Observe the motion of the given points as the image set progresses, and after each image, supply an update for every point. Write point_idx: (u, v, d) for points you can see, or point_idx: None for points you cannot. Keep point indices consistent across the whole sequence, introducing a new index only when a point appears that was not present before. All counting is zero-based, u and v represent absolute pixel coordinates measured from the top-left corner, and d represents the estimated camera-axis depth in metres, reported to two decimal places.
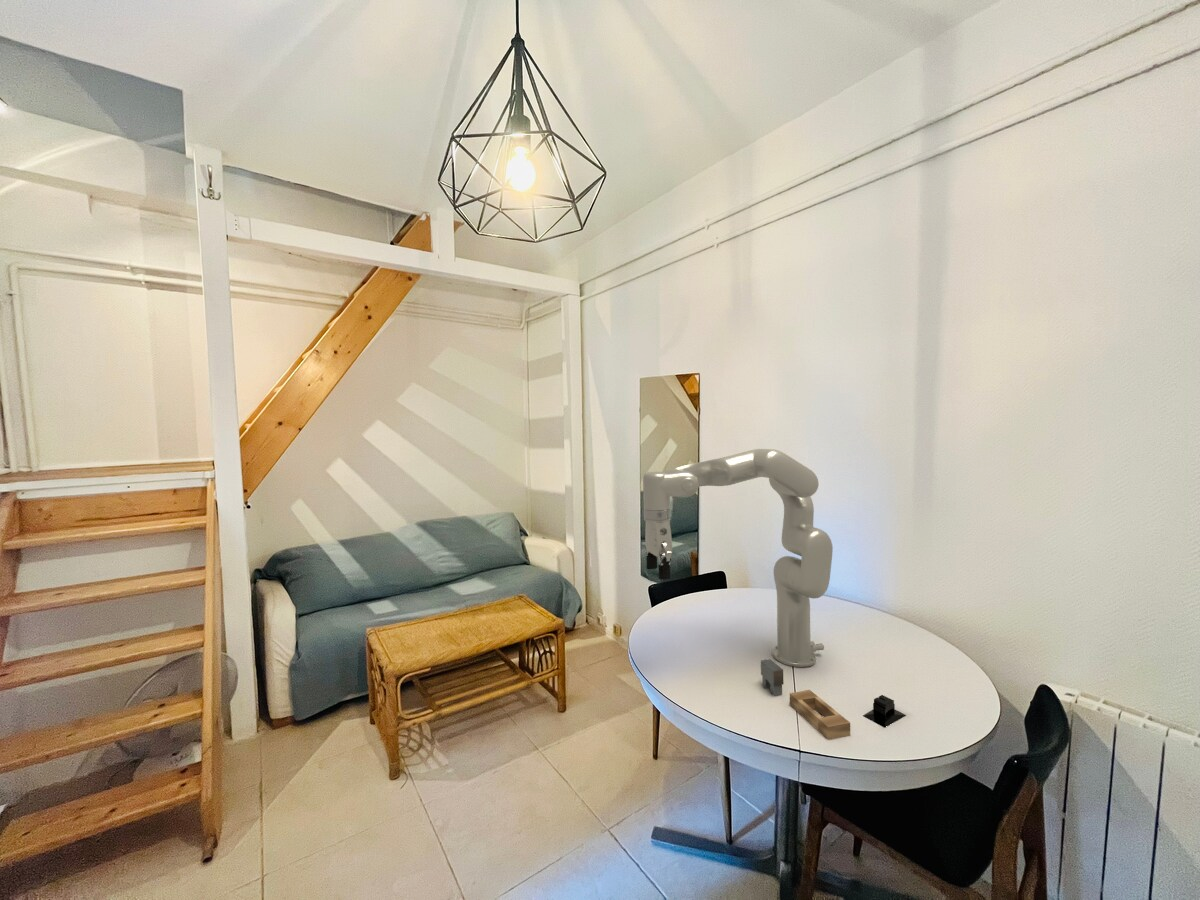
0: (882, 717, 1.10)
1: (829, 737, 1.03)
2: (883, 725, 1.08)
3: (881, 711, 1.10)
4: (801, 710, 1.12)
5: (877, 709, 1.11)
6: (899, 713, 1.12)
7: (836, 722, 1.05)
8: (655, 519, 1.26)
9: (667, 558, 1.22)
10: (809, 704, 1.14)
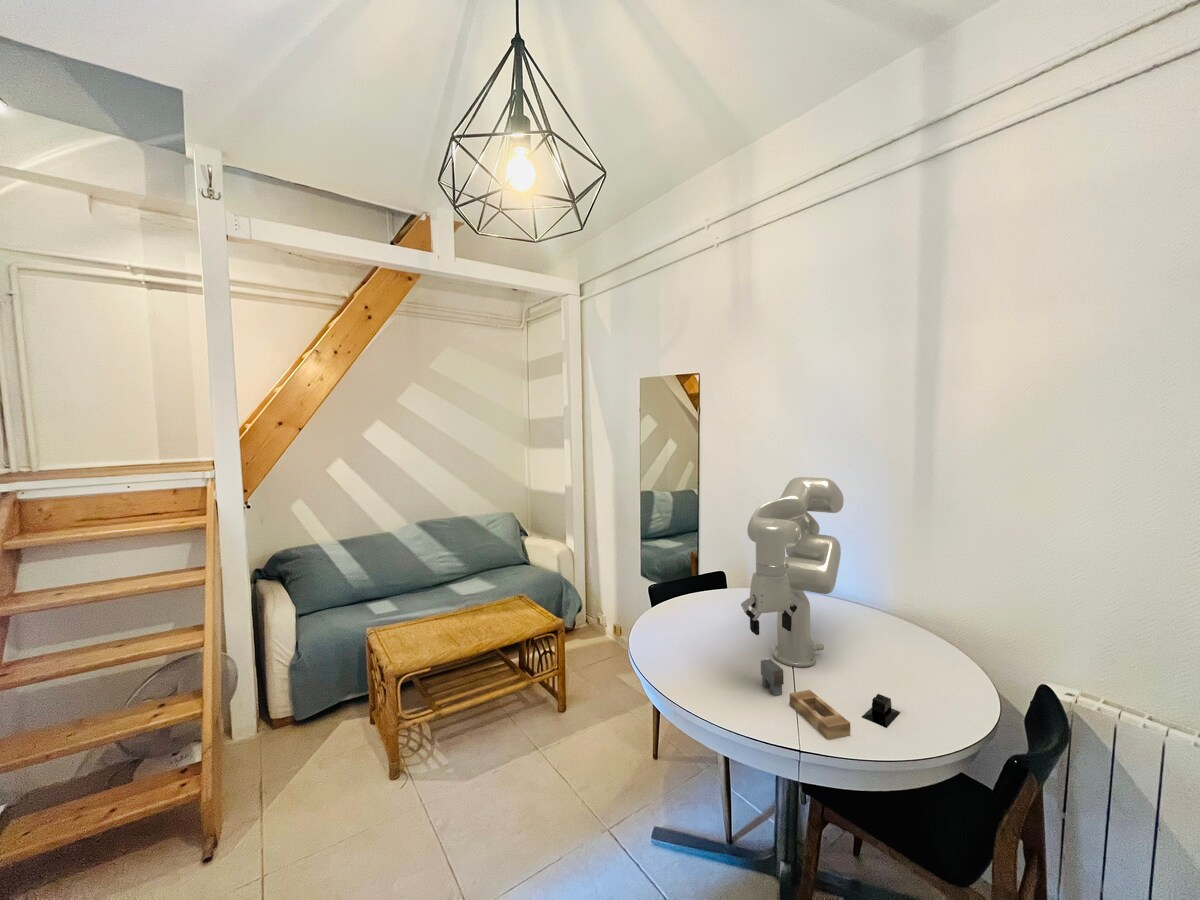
0: (881, 716, 1.10)
1: (829, 737, 1.03)
2: (884, 725, 1.08)
3: (880, 711, 1.10)
4: (801, 710, 1.12)
5: (876, 709, 1.11)
6: (895, 711, 1.13)
7: (836, 722, 1.05)
8: (785, 572, 1.21)
9: None
10: (809, 704, 1.14)
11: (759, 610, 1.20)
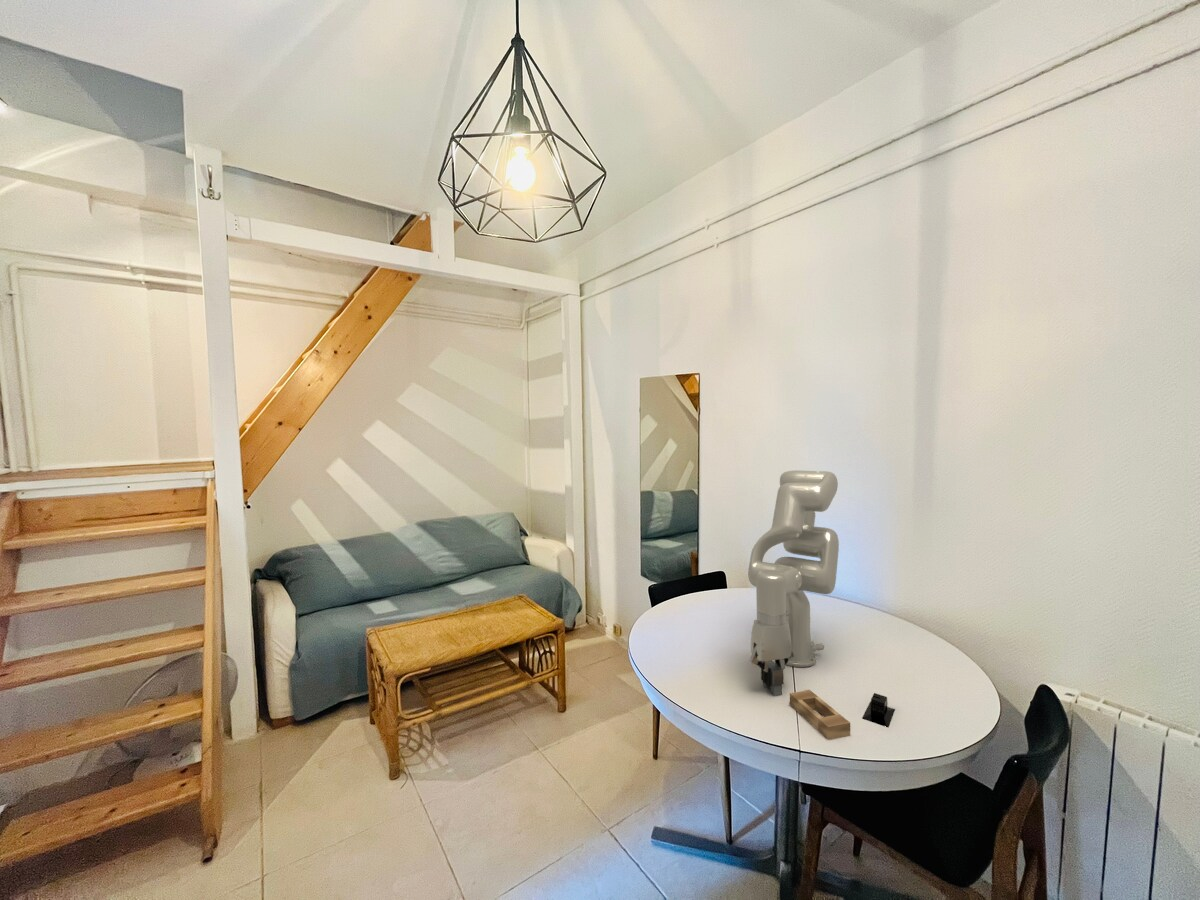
0: (881, 716, 1.10)
1: (829, 737, 1.03)
2: (885, 725, 1.08)
3: (880, 710, 1.10)
4: (801, 710, 1.12)
5: (875, 709, 1.11)
6: (889, 708, 1.14)
7: (836, 722, 1.05)
8: None
9: None
10: (809, 704, 1.14)
11: (760, 659, 1.21)
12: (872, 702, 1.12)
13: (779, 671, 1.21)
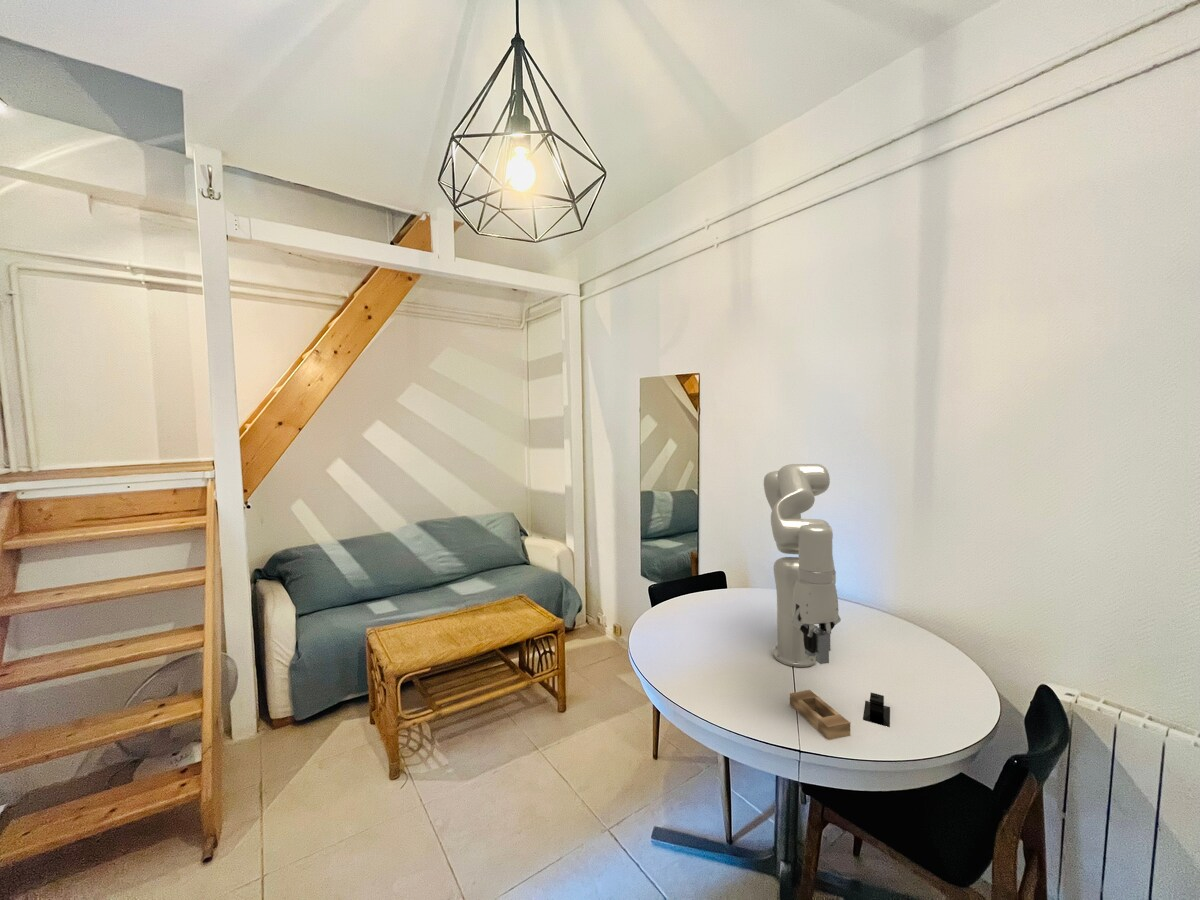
0: (880, 716, 1.10)
1: (829, 737, 1.03)
2: (886, 724, 1.08)
3: (879, 710, 1.10)
4: (801, 710, 1.12)
5: (874, 709, 1.11)
6: (885, 706, 1.15)
7: (836, 722, 1.05)
8: None
9: None
10: (809, 704, 1.14)
11: (804, 622, 1.07)
12: (871, 702, 1.11)
13: (825, 636, 1.07)
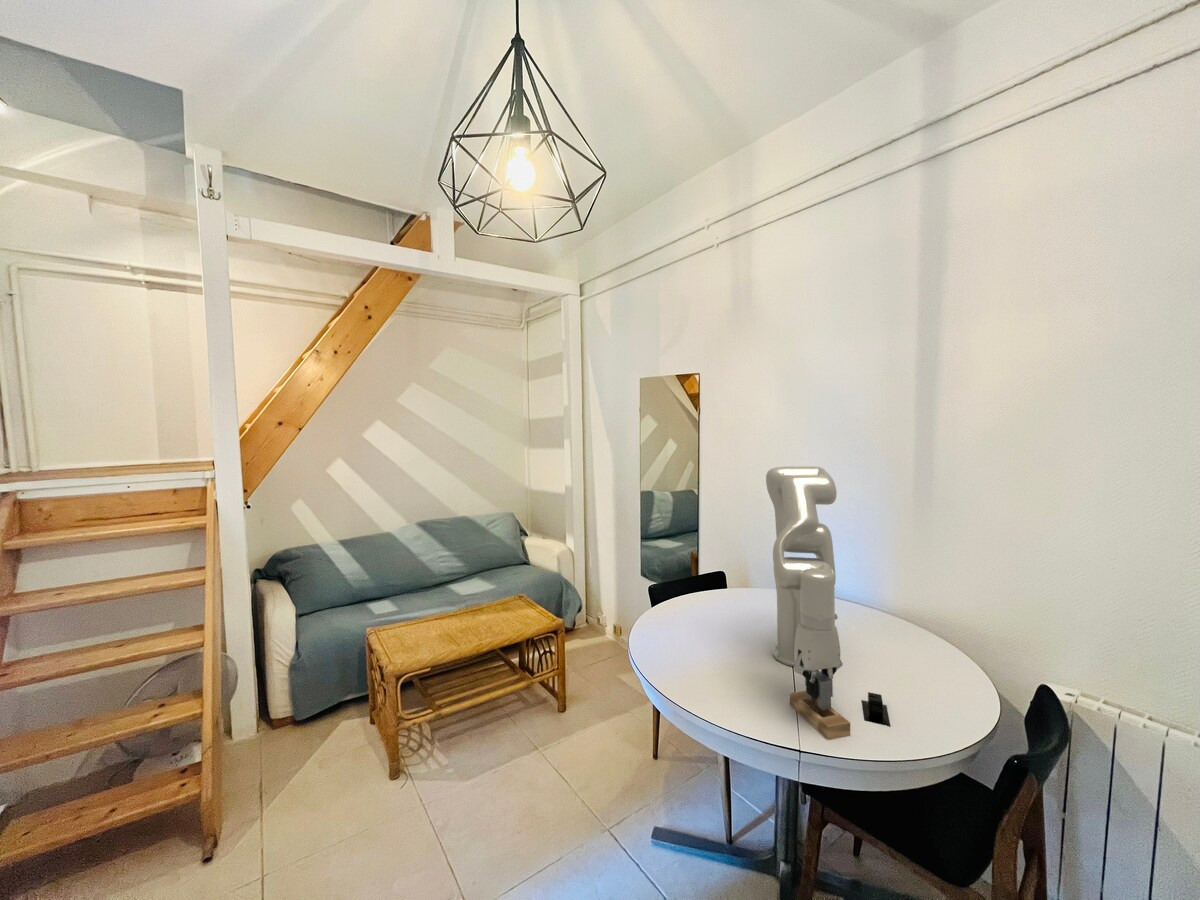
0: (879, 715, 1.10)
1: (829, 737, 1.03)
2: (887, 724, 1.08)
3: (878, 710, 1.10)
4: (801, 710, 1.12)
5: (874, 709, 1.11)
6: None
7: (836, 722, 1.05)
8: None
9: None
10: (809, 704, 1.14)
11: (806, 668, 1.07)
12: (870, 702, 1.11)
13: (828, 682, 1.07)
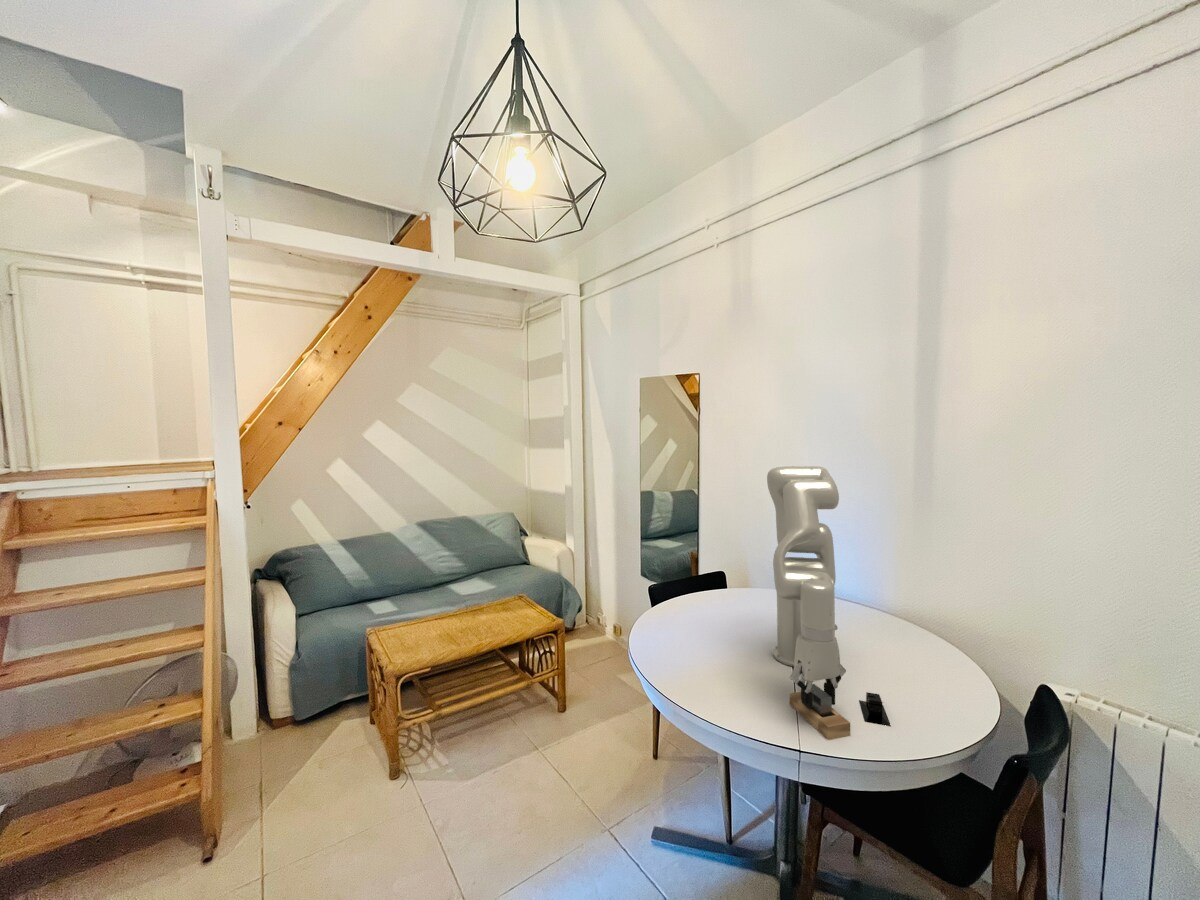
0: (879, 715, 1.10)
1: (829, 737, 1.03)
2: (887, 724, 1.08)
3: (878, 710, 1.11)
4: (801, 710, 1.12)
5: (873, 709, 1.11)
6: None
7: (836, 722, 1.05)
8: None
9: None
10: None
11: (806, 679, 1.08)
12: (870, 702, 1.11)
13: (827, 699, 1.08)
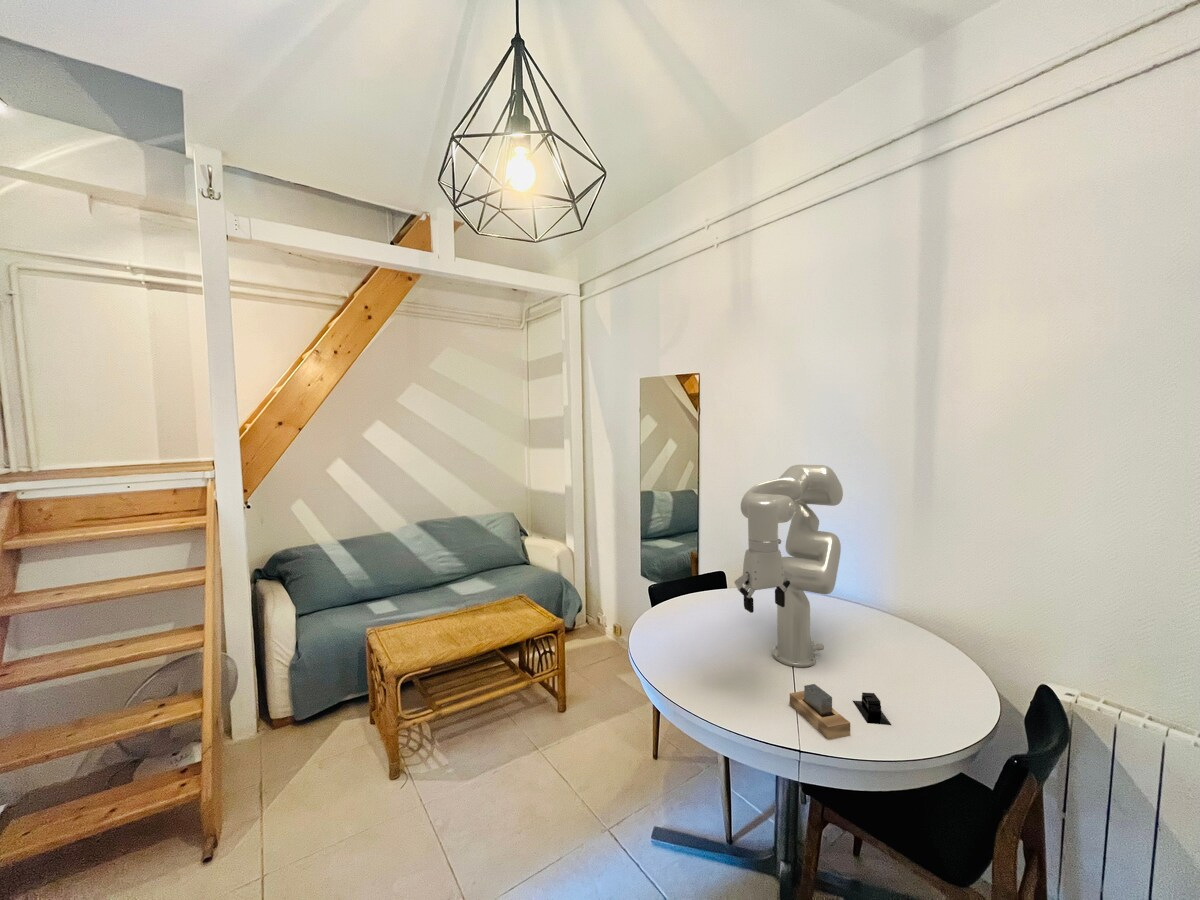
0: (878, 715, 1.11)
1: (829, 737, 1.03)
2: (888, 723, 1.08)
3: (877, 709, 1.11)
4: (801, 710, 1.12)
5: (872, 709, 1.11)
6: None
7: (836, 722, 1.05)
8: None
9: None
10: None
11: (753, 587, 1.17)
12: (869, 703, 1.11)
13: (827, 699, 1.08)
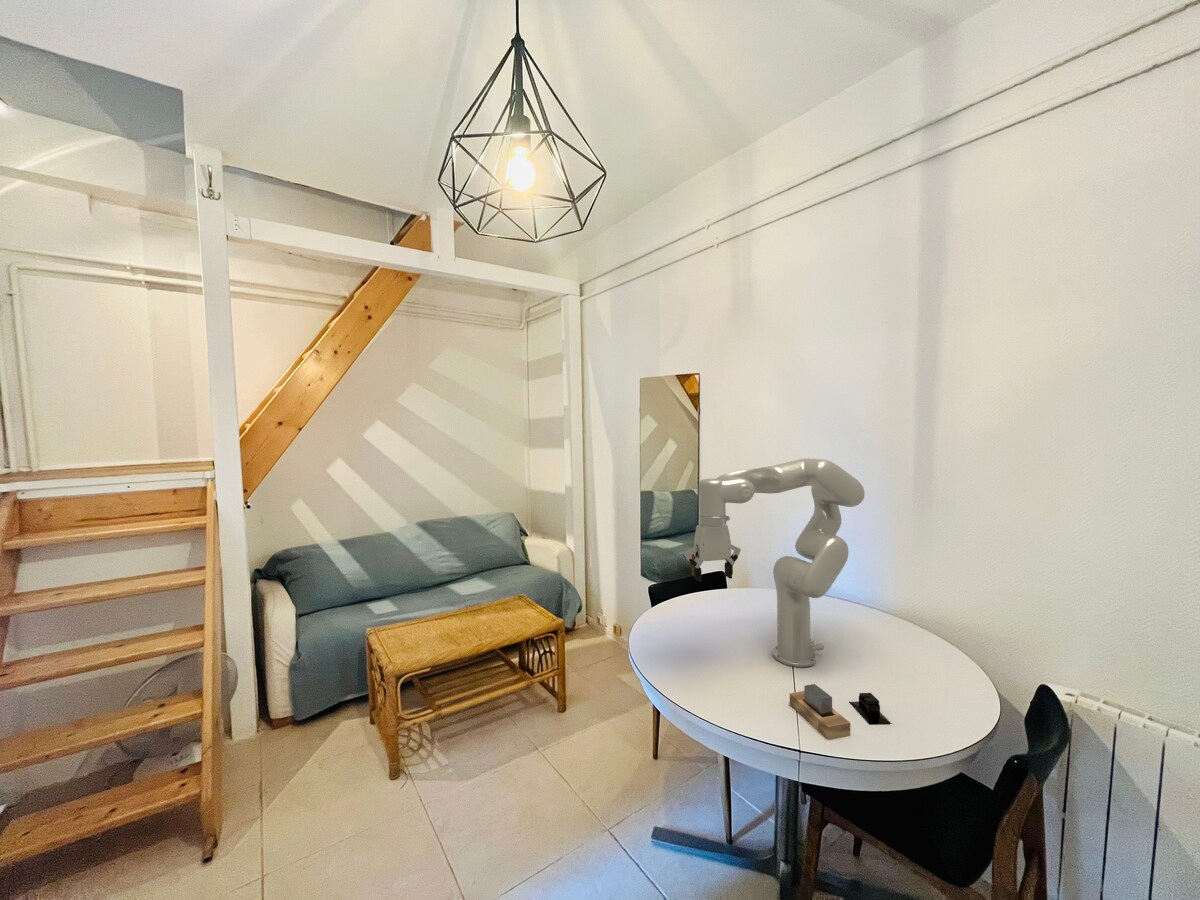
0: (877, 715, 1.11)
1: (829, 737, 1.03)
2: (888, 722, 1.09)
3: (876, 709, 1.11)
4: (801, 710, 1.12)
5: (872, 709, 1.11)
6: None
7: (836, 722, 1.05)
8: (725, 523, 1.30)
9: None
10: None
11: (701, 558, 1.29)
12: (869, 704, 1.11)
13: (827, 699, 1.08)
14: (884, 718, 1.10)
